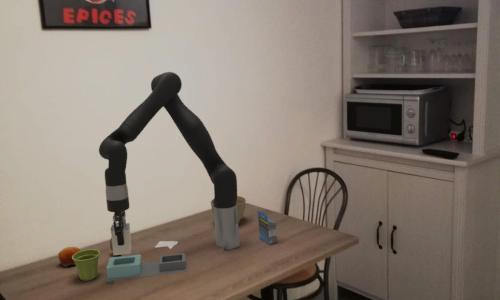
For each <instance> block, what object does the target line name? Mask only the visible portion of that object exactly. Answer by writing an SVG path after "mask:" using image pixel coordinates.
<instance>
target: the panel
mask: <svg viewBox="0 0 500 300" xmlns="http://www.w3.org/2000/svg"><path fill="white" fill-rule="evenodd" d="M187 267H188V265H187V258H186V254H185V253H184V252H183V253H173V254H165V255H159V260H157V261H147V262H143V261H142V254H132V255H131V254H129V255H124V256H123V255H122V256H113V257H109V260H108V263H107V265H106V268H105V269H106V279H105V284H106V285H107V284H114V283H115V282H116V281H118V280H127V279H135V278H137V279H138V278H144V277H154V276H161V275H162V276H163V275H170V274H178V273H179V274H180V273H187V272H188V268H187Z"/></svg>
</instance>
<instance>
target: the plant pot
mask: <svg viewBox="0 0 500 300" xmlns="http://www.w3.org/2000/svg"><path fill="white" fill-rule="evenodd" d="M100 255H101V252H100V250H98V249H94V248H92V249H83V250H80V252H77V253H75V254H74V255H73V256H72V259H73V260H74V262H75V264H76V265H75V266H76V270H77V274H78V277H79V279H80V280H81V281H86V282H87V281H92V280H94V278H97V277H98V273H99V269H98V268H99V257H100Z"/></svg>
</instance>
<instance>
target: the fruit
mask: <svg viewBox="0 0 500 300" xmlns="http://www.w3.org/2000/svg"><path fill="white" fill-rule="evenodd" d="M80 251H81V250H80V248H78V247H77V246H67V247H64V248H63V249H61V250H60V251H59V252H58V254H57V255H58V260H59V262H60V264H61V265H62V266H64V267H65V268H67V267H69V266H72V265H75V266H76V264H75V262H74V260H73V259H72V256H73V255H74V254H75V253H77V252H80Z"/></svg>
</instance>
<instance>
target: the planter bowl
mask: <svg viewBox="0 0 500 300" xmlns="http://www.w3.org/2000/svg"><path fill="white" fill-rule="evenodd" d="M213 200H214V198H213V199H211V200H210V205H211V206H210V207H211V211H212V214H213V215H214V205H213ZM236 205H237V223H238V224H240V223H241V219H242V218H243V216H244V213H245V211H246V210H245V209H246V198H245V197H243V196H240V195H237V200H236Z"/></svg>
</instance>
